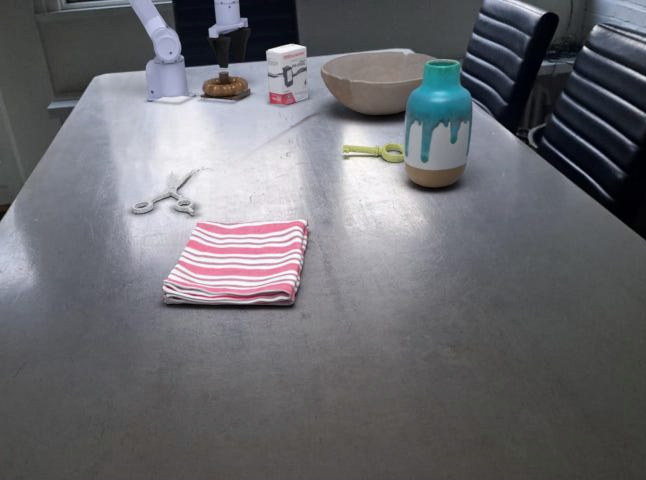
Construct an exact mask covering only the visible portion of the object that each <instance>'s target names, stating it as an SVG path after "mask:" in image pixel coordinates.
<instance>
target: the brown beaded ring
mask: <svg viewBox="0 0 646 480" xmlns="http://www.w3.org/2000/svg"><path fill="white" fill-rule="evenodd" d="M229 82H230V84H229V85H220V81H219V76H217V77H213V78H209V79H207V80H205V81H203V84H202V86H201V90H202V92H203V94H204V93H205V94H207V95H209V96H216V97H226V96H234V95H239V94H241V93H243V92H245V91H247V89H249V81H248V80H247V79H246V78H243V77H241V76H235V75H234V76H233V75H231V76H230V75H229Z"/></svg>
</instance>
